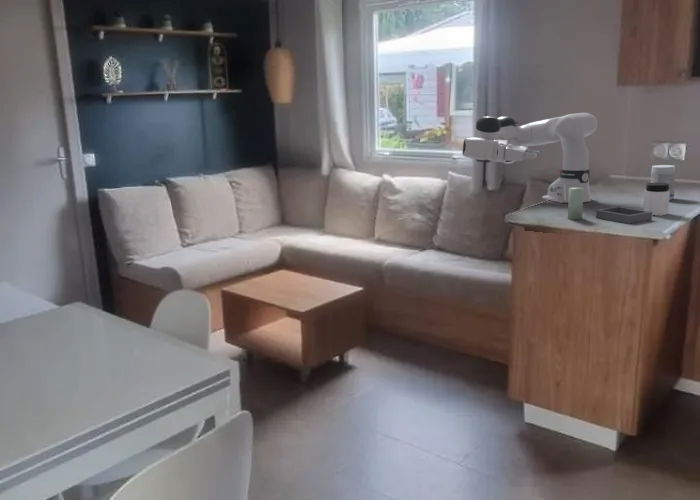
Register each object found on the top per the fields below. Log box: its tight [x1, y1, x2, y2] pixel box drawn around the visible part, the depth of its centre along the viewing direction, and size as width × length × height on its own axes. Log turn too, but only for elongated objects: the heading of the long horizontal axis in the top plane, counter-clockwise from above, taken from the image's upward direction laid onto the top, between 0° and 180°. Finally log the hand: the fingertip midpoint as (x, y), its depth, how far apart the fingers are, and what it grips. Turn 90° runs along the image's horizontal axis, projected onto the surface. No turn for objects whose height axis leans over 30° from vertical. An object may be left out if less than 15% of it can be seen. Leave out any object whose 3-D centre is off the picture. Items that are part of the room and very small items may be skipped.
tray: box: [595, 206, 653, 225], centre depth 252 cm, size 16×12×3 cm
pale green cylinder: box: [567, 187, 584, 221], centre depth 256 cm, size 5×5×12 cm
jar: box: [643, 182, 670, 217], centre depth 258 cm, size 9×8×12 cm
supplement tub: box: [650, 164, 676, 201], centre depth 288 cm, size 10×10×15 cm
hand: (537, 154), depth 256 cm, fingers open, 8 cm apart
